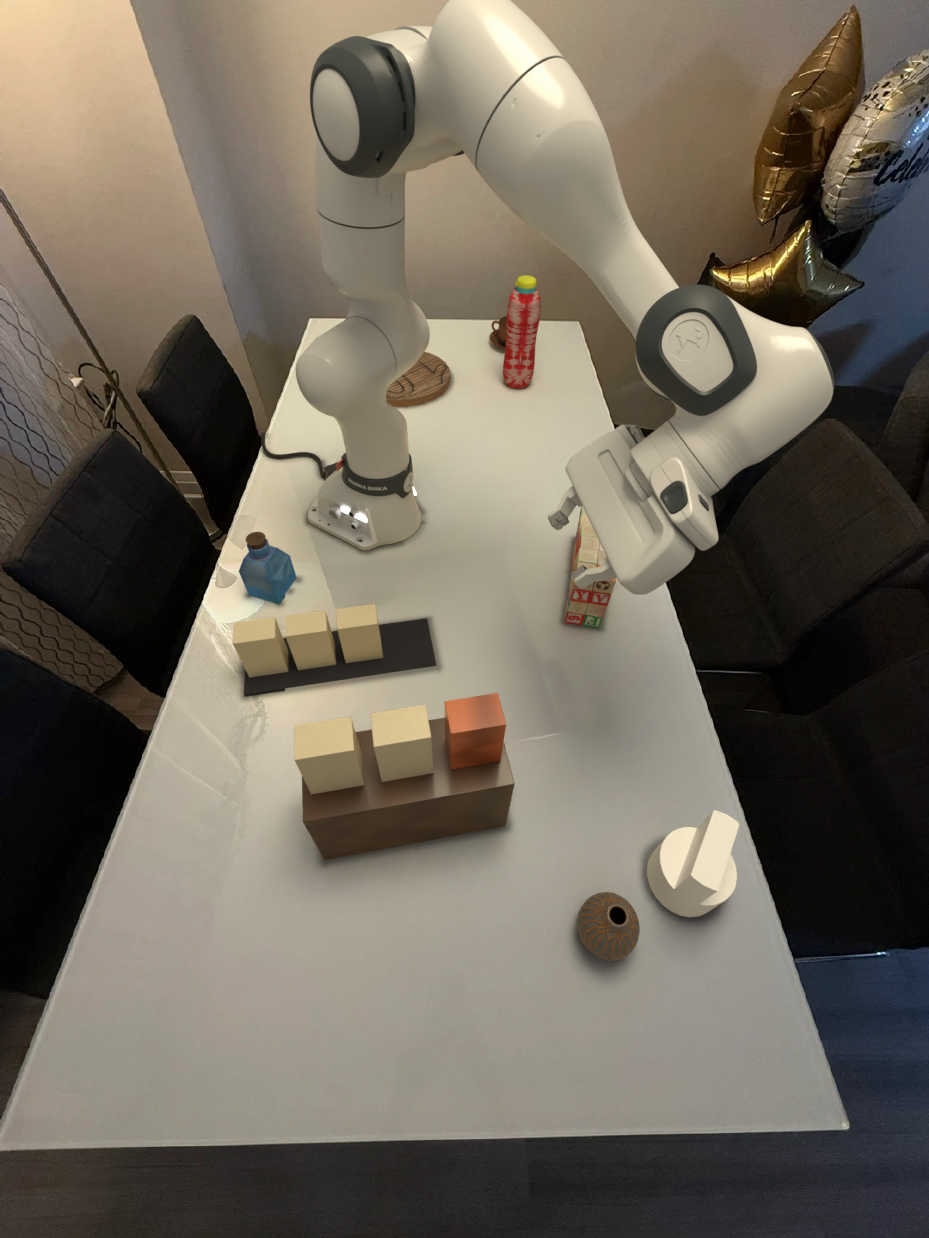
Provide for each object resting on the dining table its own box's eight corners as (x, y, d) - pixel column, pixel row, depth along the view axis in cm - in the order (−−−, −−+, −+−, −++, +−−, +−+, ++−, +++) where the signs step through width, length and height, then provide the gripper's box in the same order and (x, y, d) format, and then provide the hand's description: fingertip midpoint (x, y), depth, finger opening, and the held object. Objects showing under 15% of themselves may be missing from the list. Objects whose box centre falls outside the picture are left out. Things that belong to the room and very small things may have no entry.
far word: (244, 696, 89) (225, 661, 82) (247, 645, 96) (229, 607, 88) (436, 667, 93) (435, 631, 86) (427, 620, 100) (425, 582, 92)
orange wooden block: (450, 769, 68) (450, 733, 61) (445, 739, 70) (444, 701, 63) (500, 761, 68) (506, 724, 61) (493, 731, 71) (497, 692, 64)
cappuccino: (486, 352, 158) (487, 329, 153) (492, 332, 165) (493, 309, 160) (530, 357, 157) (532, 334, 152) (534, 336, 164) (536, 313, 159)
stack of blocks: (573, 539, 113) (585, 488, 103) (606, 544, 112) (620, 493, 102) (563, 623, 100) (575, 574, 90) (600, 629, 99) (616, 580, 89)
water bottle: (501, 368, 153) (508, 263, 134) (531, 369, 153) (543, 265, 134) (500, 392, 146) (508, 285, 126) (532, 393, 145) (545, 287, 126)
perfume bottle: (297, 579, 105) (282, 530, 95) (279, 604, 101) (262, 555, 92) (267, 571, 106) (249, 521, 97) (248, 595, 102) (228, 546, 93)
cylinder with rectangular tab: (706, 932, 70) (745, 909, 61) (636, 890, 73) (663, 861, 64) (727, 866, 75) (767, 835, 66) (661, 829, 78) (689, 794, 68)
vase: (568, 903, 72) (580, 884, 65) (622, 898, 72) (640, 878, 65) (579, 967, 68) (594, 954, 61) (637, 961, 68) (658, 948, 61)
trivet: (408, 346, 160) (408, 339, 158) (470, 382, 148) (470, 375, 147) (333, 377, 149) (331, 370, 147) (393, 418, 137) (392, 411, 136)
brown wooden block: (324, 860, 74) (284, 789, 57) (321, 787, 81) (284, 702, 63) (505, 825, 78) (522, 748, 60) (489, 757, 84) (500, 669, 66)
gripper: (618, 400, 64) (523, 480, 71) (698, 525, 52) (574, 608, 58) (645, 432, 68) (553, 505, 75) (725, 554, 56) (607, 629, 62)
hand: (563, 551), depth 66 cm, fingers open, 8 cm apart
